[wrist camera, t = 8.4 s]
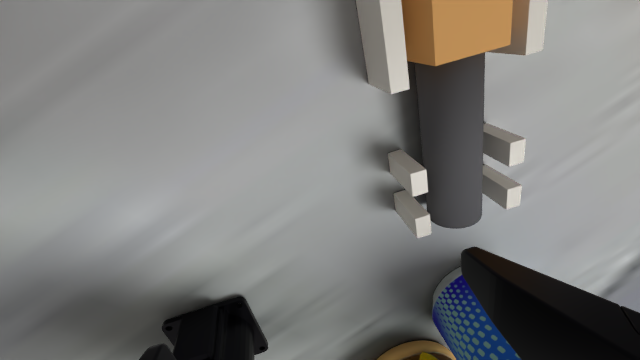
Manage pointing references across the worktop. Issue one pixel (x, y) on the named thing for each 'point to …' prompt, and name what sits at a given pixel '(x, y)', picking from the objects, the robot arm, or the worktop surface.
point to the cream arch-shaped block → (390, 50)
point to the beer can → (467, 322)
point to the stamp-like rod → (453, 96)
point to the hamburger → (418, 352)
